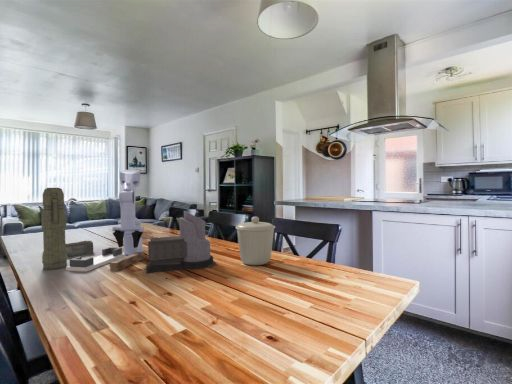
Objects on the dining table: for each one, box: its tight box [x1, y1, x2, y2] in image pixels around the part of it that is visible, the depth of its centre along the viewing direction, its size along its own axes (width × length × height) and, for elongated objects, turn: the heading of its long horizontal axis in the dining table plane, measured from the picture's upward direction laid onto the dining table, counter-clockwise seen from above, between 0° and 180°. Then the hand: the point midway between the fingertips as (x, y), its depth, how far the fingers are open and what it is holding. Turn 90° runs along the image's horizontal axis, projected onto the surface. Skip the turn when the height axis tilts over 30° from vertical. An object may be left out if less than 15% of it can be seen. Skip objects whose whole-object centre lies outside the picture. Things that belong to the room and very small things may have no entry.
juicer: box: [145, 210, 217, 275], centre depth 124 cm, size 30×16×24 cm, turn 112°
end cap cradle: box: [65, 246, 126, 272], centre depth 130 cm, size 25×10×4 cm, turn 169°
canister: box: [235, 216, 276, 266], centre depth 128 cm, size 18×18×21 cm
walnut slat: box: [109, 251, 146, 271], centre depth 129 cm, size 20×3×4 cm, turn 169°
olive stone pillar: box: [40, 187, 68, 271], centre depth 124 cm, size 9×12×35 cm
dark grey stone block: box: [65, 240, 94, 258], centre depth 146 cm, size 8×19×7 cm, turn 129°
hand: (128, 247), depth 128 cm, fingers open, 7 cm apart
